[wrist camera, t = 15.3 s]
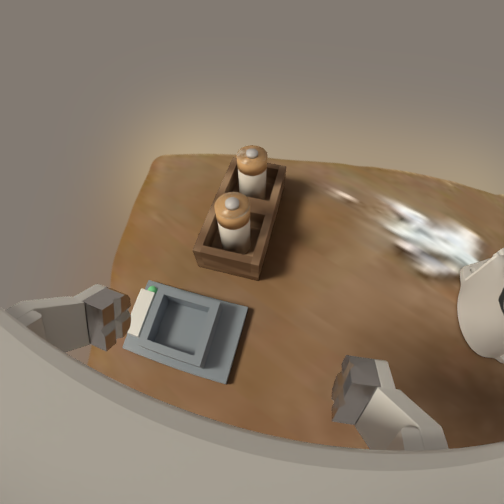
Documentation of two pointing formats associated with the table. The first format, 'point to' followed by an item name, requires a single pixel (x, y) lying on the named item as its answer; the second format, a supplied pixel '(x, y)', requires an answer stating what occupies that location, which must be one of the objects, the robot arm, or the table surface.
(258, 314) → the table surface
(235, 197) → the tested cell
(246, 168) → the cell
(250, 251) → the rack
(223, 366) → the checker
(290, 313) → the table surface
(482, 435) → the table surface
